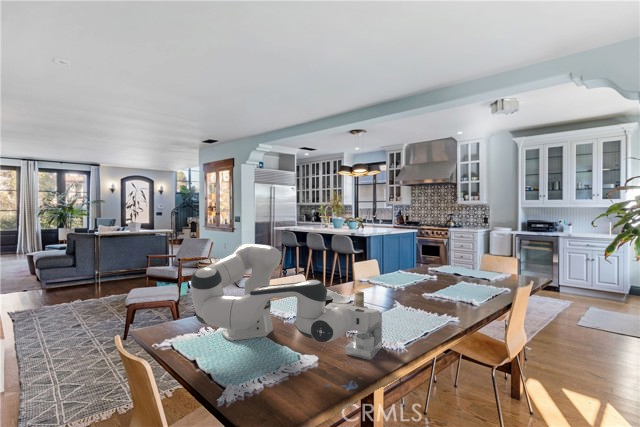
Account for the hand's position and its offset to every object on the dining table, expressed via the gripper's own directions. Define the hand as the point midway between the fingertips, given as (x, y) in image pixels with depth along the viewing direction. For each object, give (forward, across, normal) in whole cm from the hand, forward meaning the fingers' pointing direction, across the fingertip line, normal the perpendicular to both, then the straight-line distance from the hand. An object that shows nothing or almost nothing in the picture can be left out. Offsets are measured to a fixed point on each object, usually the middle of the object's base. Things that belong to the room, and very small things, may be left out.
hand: (360, 307), depth 131 cm
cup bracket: (+1, +1, -17) cm, 17 cm away
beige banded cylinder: (-1, 0, -8) cm, 8 cm away
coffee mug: (+29, -32, -17) cm, 47 cm away
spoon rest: (+51, -41, -18) cm, 68 cm away
